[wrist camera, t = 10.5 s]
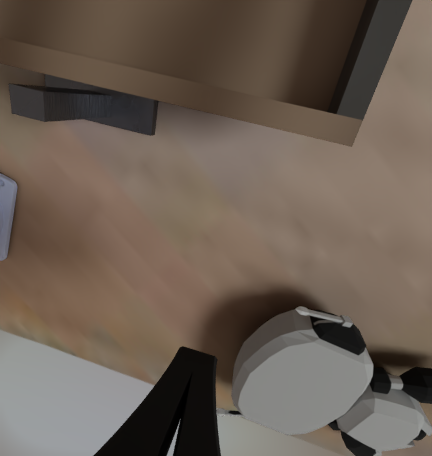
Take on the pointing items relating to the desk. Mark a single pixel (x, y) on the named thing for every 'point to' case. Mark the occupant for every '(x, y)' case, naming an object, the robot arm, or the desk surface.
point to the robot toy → (327, 384)
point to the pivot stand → (83, 104)
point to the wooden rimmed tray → (217, 54)
